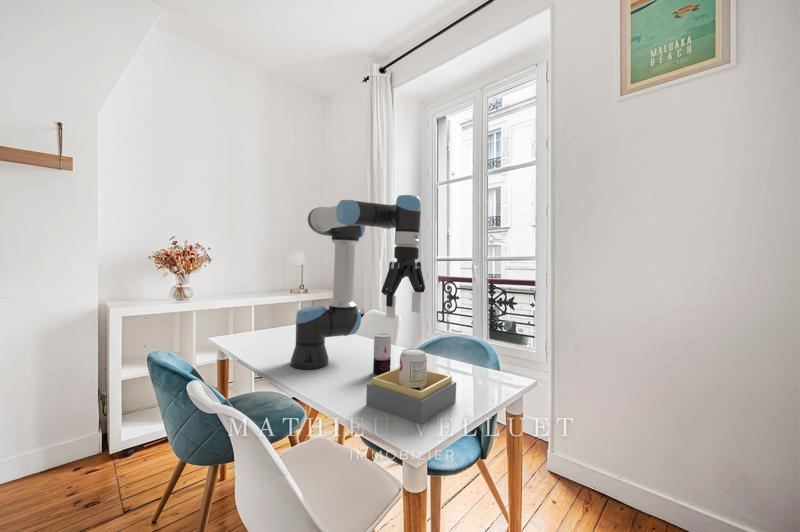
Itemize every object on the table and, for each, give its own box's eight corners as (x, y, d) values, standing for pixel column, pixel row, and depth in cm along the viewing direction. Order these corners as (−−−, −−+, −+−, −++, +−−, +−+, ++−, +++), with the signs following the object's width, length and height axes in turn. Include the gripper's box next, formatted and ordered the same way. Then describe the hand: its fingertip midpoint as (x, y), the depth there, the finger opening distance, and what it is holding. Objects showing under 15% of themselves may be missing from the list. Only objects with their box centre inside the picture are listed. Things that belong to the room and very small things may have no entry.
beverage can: (389, 371, 141) (390, 333, 140) (390, 376, 134) (392, 337, 134) (372, 371, 140) (373, 333, 139) (373, 376, 133) (374, 337, 133)
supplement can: (395, 403, 106) (396, 353, 105) (402, 393, 114) (404, 347, 113) (421, 407, 103) (423, 356, 103) (427, 397, 111) (429, 349, 111)
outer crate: (366, 407, 106) (366, 384, 106) (404, 388, 122) (404, 368, 122) (421, 427, 94) (422, 401, 94) (455, 404, 110) (456, 381, 110)
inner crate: (371, 404, 106) (372, 378, 106) (404, 388, 120) (405, 364, 120) (420, 421, 96) (421, 392, 96) (450, 401, 110) (451, 376, 110)
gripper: (392, 245, 97) (389, 321, 98) (437, 247, 118) (434, 311, 118) (371, 244, 102) (368, 317, 103) (418, 247, 122) (415, 308, 123)
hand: (403, 314), depth 110 cm, fingers open, 13 cm apart
